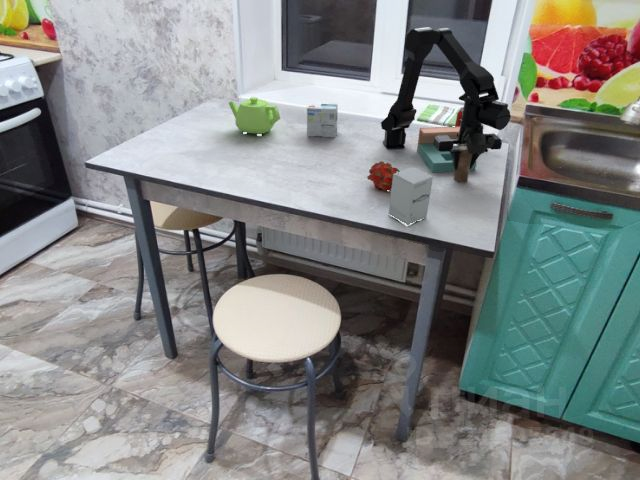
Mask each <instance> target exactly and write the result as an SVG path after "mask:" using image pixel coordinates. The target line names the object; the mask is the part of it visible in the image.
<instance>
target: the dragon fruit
mask: <svg viewBox="0 0 640 480" xmlns="http://www.w3.org/2000/svg"><path fill="white" fill-rule="evenodd" d="M400 171H401V170H400V169H398V167H393V166H392V164H391V163H389V162H386V163H385V161H382V160H381V161H379V162H375V163H374V164H373V165H371V168H370V169H369V170H368V173H369V175H368V176H367V180H370V181H371V182H372V183H373V185H374V188H375V190H376V189H377V190H378V189H379V188H380V189H381V190H383V191H385V192H387V190H391V189H392V180H393V174H395V173H398V172H400Z"/></svg>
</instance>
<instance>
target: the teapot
mask: <svg viewBox="0 0 640 480" xmlns="http://www.w3.org/2000/svg"><path fill="white" fill-rule="evenodd" d="M228 105H229V108H230V110H231V112H232V114H233V116H234V119H235V126H236V127H237V128H238V130H239V131H240V132H247V133H248V134H256V133H257V134H262V133H263V134H265V133H267V132H270V131H271V130H272V129H273V127H274V126H275V123H276V122H278V121H279V120H281V116H280V111H279V108H278V105H271V104H270V103H269V102H268V101H267V100H264V99H259V98H258V97H255V96H253V97H250V98H248V99H245V100H243V101H242V102H241V103H240V104H239V105H238V106H237V104H236V102H234V100H233V101H232V100H231V101H229V102H228ZM270 129H271V130H270ZM269 130H270V131H269Z"/></svg>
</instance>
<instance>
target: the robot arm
mask: <svg viewBox="0 0 640 480" xmlns="http://www.w3.org/2000/svg"><path fill="white" fill-rule="evenodd" d="M434 46H437V48H439V50H440V51H441V53H442V55H443V56H444V57H445V58H446V60H447V61H448V62H449V63H450V65H451V66H452V67H453V69H454V70H455V71H456V73H457V74H458V76H459V84H460V86H461V88H462V90H463V92H464V93H463V94H461V95H460V96H459V97H458V100H460V101H463V102H464V103H463V107H464V108H463V113H462V119H460V120H459V123H460V130H459V133H457V137H458V139H451V138H450V137H449V136H448V135H442V136H436V137H435V138H434V142H433V145H434V146H435V147H436V148H437V150H438V151H440V152H446V151H449V152H450V153H451V157H452V161H453V165H454V169H455V170H457V167H458V160H459V155H460V153H461V151H460V150H459V147H460V146H466V147H467V149H468V152H469V153H470V154H472V159H471V164H470V169H471V168H472V166H473V165H474V163H475V162H476V161H477V160H478V158H479V157H480V156H481V155H482V154H484V153H487V152H489V149H490V150H491V151H492V150H501V149H502V146H503V141H502V139H501V138H500V137H499V136H498V135H497V134H495V132H494V133H484V125H485V126H487V127H489V128H493V129H495V130H498V131H502V130H504V129H505V128H507V126H508V124H509V123H510V120H511V111H510V110H509V104H508V103H506V102H500V101H499V100H500V97H499V94H498V92H497V87H496V85H495V82H494V81H495V78H494V76H493V74H492V73H490V71H488V70H487V69H486V68H485V67H484V66H482V65H480V64H478V63H476V62H475V61H474V60H473V59H472V57H471V56H470V55H469V54H468V53H467V51H466V50H465V49H464V48H463V46H462V44H461V43H460V42H459V41H458V40H457V38H456V37H455V35H454V34H453V30H451V28H449V27H443V28H437V29H435V30H434V29H433V28H432V27H430V26H427V27H419V28H412V29H410V30H409V31H407V33H406V37H405V43H404V50H405V52H406V56H407V58H406V62H405V67H404V71H403V74H402V79H401V82H400V86H399V90H398V91H399V92H398V95H397V98H396V100H395V102H394V103H393V104H392V105H391V107H390V108H389V111H388V113H387V116H386V117H385V118H384V119H383V120H382V121H381V122H380V126H381V130H384V138H383V140H382V143H383V145H384V148H385V149H387V150H390V149H391V150H392V149H393V150H394V149H405V147H406V146H405V144H406V137H407V133H406V129H409V128H410V126H411V124H412V123H413V121H415V118H416V117H415V116H416V113H417V109H416V108H415V107H414V104H413V101H414V97H415V93H416V89H417V86H418V82H419V78H420V76H421V71H422V67H423V63H424V61H425V59H426V57H428V55H429V54H430V53H431V52H432V50H433V47H434ZM476 163H477V162H476Z"/></svg>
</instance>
